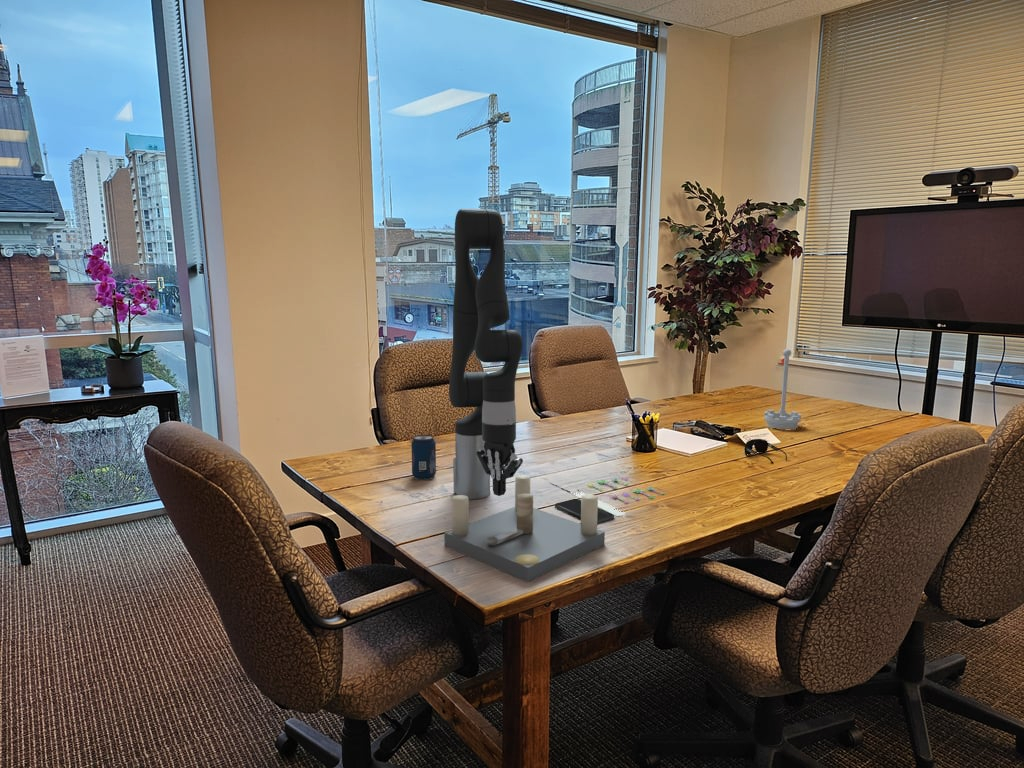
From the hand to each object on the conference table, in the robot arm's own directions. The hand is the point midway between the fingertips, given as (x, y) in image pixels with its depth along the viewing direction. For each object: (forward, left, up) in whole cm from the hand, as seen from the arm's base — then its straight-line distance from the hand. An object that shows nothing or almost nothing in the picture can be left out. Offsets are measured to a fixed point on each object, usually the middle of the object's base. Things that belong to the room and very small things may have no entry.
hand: (499, 494), depth 153 cm
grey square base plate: (+8, 0, -10) cm, 13 cm away
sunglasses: (+16, +105, -10) cm, 107 cm away
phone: (+5, +25, -10) cm, 28 cm away
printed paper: (+2, +47, -11) cm, 48 cm away
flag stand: (+3, +150, -10) cm, 150 cm away
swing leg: (+8, -5, -6) cm, 11 cm away
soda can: (-46, +15, -10) cm, 50 cm away
